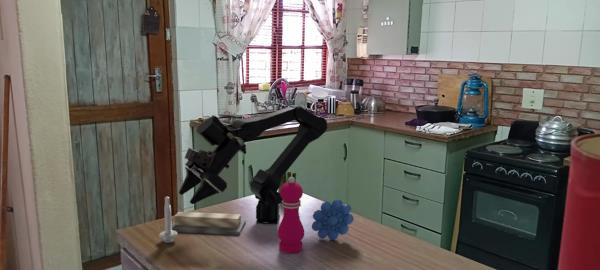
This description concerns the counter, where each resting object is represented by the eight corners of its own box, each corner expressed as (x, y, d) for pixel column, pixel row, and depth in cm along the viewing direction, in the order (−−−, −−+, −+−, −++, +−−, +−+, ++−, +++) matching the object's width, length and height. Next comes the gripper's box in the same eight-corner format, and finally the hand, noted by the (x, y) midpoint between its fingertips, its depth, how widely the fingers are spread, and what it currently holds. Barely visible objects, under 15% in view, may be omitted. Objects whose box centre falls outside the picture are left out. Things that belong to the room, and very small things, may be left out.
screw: (162, 237, 130) (179, 237, 130) (157, 244, 125) (175, 245, 125) (161, 193, 127) (178, 193, 127) (155, 198, 123) (173, 199, 123)
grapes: (352, 234, 134) (353, 195, 132) (353, 244, 127) (354, 203, 125) (312, 232, 135) (313, 193, 132) (310, 242, 128) (311, 201, 126)
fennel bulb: (297, 204, 159) (297, 171, 156) (288, 208, 155) (288, 174, 153) (284, 201, 162) (284, 168, 160) (275, 204, 158) (275, 170, 156)
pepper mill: (301, 255, 120) (302, 181, 116) (274, 253, 121) (274, 179, 117) (306, 244, 127) (307, 174, 123) (280, 241, 128) (281, 172, 124)
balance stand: (245, 223, 141) (245, 211, 141) (239, 234, 132) (239, 222, 132) (178, 220, 143) (178, 208, 142) (168, 231, 134) (168, 219, 133)
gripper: (191, 132, 135) (154, 173, 132) (215, 143, 120) (174, 190, 116) (216, 155, 141) (182, 195, 137) (243, 169, 126) (205, 215, 122)
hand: (185, 198), depth 128 cm, fingers open, 9 cm apart
